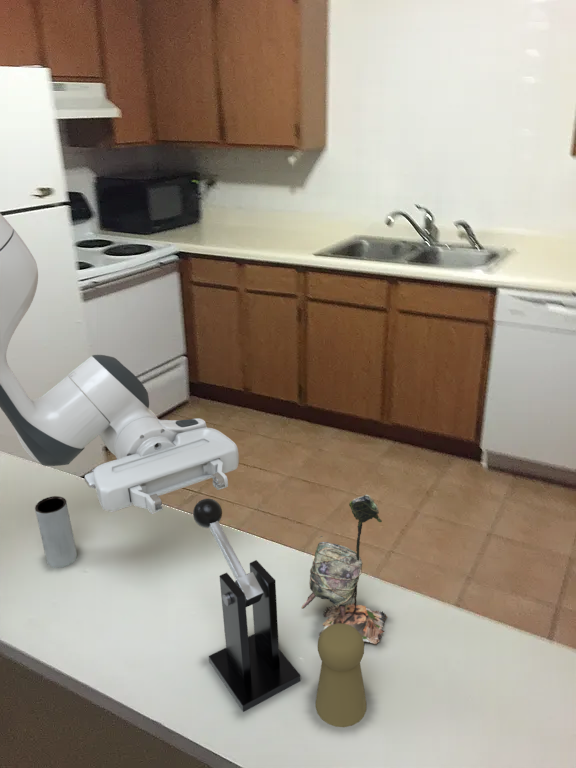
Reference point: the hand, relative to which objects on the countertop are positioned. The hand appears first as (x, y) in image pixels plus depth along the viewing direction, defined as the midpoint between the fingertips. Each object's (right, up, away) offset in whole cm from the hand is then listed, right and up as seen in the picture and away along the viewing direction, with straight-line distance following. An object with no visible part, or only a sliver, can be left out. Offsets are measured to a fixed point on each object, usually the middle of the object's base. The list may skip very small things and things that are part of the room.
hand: (190, 495), depth 87 cm
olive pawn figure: (+19, -23, -9) cm, 31 cm away
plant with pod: (+20, -18, +3) cm, 27 cm away
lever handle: (+5, -7, -5) cm, 10 cm away
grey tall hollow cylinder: (-23, -13, +18) cm, 31 cm away
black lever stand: (+8, -21, -4) cm, 23 cm away
